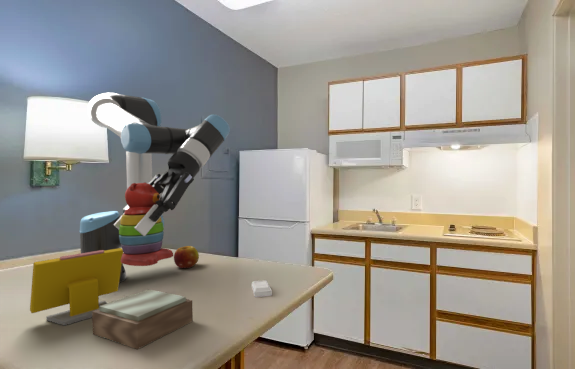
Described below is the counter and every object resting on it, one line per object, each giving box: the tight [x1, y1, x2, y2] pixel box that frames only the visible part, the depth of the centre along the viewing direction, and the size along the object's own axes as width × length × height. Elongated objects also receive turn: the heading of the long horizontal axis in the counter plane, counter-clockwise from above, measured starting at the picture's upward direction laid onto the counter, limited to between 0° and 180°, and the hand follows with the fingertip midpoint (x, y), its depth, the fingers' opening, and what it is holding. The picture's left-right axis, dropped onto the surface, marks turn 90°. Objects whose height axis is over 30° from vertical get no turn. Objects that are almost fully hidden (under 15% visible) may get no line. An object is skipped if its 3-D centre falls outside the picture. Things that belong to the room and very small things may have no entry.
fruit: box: [173, 245, 200, 269], centre depth 133 cm, size 10×9×8 cm
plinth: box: [91, 288, 194, 350], centre depth 77 cm, size 15×15×6 cm
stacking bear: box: [119, 182, 174, 267], centre depth 77 cm, size 11×10×18 cm
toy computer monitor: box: [29, 248, 124, 326], centre depth 86 cm, size 20×8×16 cm, turn 141°
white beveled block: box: [251, 279, 273, 298], centre depth 101 cm, size 5×9×3 cm, turn 11°
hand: (128, 230), depth 75 cm, fingers closed on stacking bear, 9 cm apart
